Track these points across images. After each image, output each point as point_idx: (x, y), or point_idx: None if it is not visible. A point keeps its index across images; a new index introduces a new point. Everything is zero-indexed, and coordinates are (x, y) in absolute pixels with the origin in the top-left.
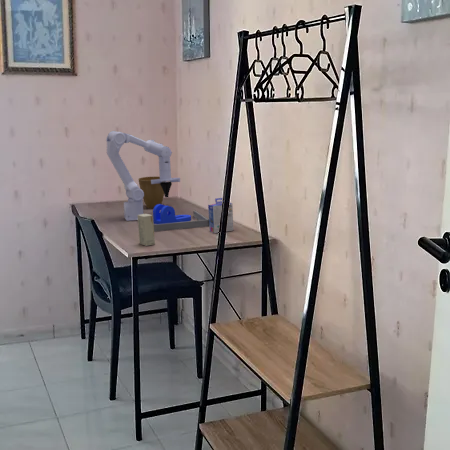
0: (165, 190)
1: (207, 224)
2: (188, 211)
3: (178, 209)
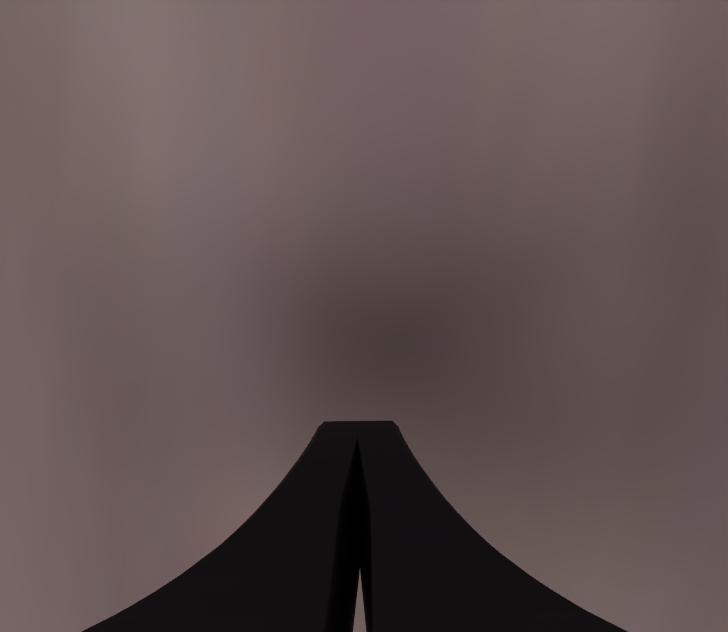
0: (411, 523)
1: None
2: (11, 424)
3: None
